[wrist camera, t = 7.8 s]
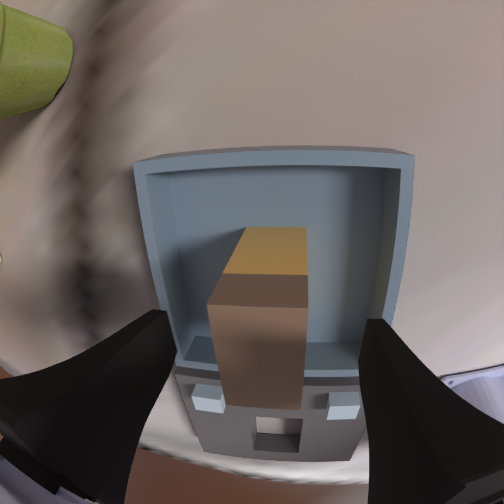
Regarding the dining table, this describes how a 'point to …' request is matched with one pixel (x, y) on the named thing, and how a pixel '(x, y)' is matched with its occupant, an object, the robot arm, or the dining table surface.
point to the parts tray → (279, 215)
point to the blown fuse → (262, 319)
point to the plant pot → (30, 61)
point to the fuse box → (274, 445)
